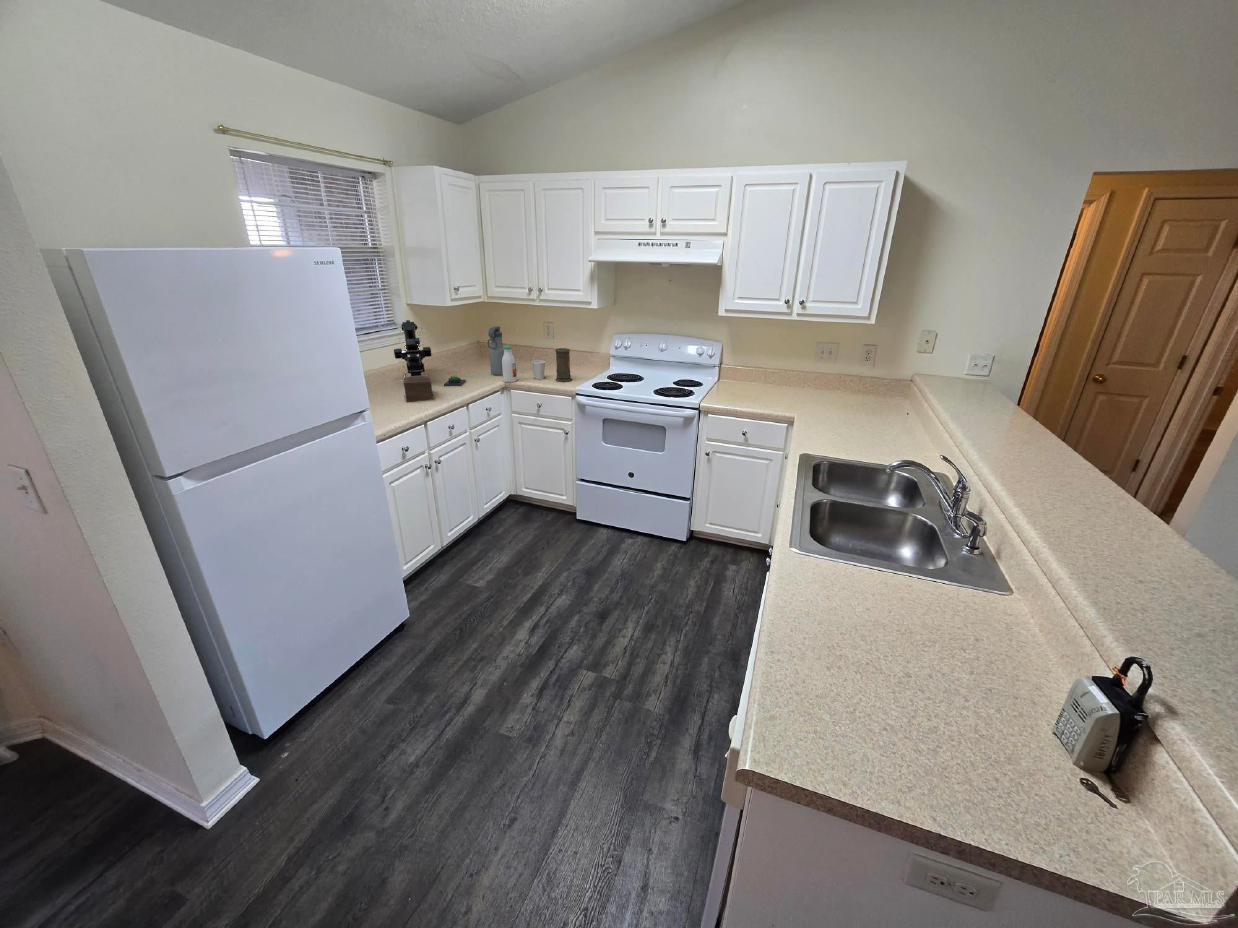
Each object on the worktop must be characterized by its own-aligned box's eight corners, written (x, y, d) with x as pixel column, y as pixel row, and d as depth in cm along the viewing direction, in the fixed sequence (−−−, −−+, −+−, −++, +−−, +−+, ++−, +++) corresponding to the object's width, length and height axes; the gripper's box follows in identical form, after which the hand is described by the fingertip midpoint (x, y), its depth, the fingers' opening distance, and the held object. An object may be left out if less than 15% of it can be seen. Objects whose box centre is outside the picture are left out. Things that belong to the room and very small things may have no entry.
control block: (449, 381, 295) (449, 376, 293) (465, 381, 295) (464, 376, 294) (444, 386, 284) (443, 380, 283) (460, 386, 285) (459, 381, 283)
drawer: (407, 389, 274) (404, 375, 271) (429, 387, 278) (427, 373, 275) (407, 397, 260) (405, 382, 257) (431, 395, 264) (429, 380, 261)
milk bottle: (509, 383, 291) (506, 348, 284) (500, 381, 296) (497, 346, 288) (519, 380, 297) (517, 346, 289) (510, 378, 301) (508, 344, 294)
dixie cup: (549, 378, 304) (548, 361, 300) (538, 380, 298) (537, 363, 294) (539, 375, 309) (539, 359, 305) (529, 378, 303) (528, 361, 299)
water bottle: (501, 376, 307) (497, 328, 296) (487, 374, 310) (483, 327, 299) (510, 372, 316) (507, 326, 305) (497, 371, 319) (493, 325, 308)
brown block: (406, 395, 266) (403, 377, 263) (431, 393, 271) (429, 375, 267) (406, 402, 255) (403, 383, 251) (433, 399, 259) (430, 381, 255)
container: (559, 382, 293) (558, 351, 286) (553, 379, 300) (552, 348, 293) (573, 381, 297) (572, 350, 290) (568, 377, 304) (566, 347, 297)
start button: (452, 378, 290) (451, 375, 290) (458, 378, 290) (458, 375, 290) (450, 380, 287) (450, 377, 286) (456, 380, 287) (456, 377, 286)
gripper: (390, 333, 269) (394, 358, 264) (428, 331, 276) (432, 356, 270) (393, 346, 279) (396, 370, 274) (429, 344, 285) (433, 367, 280)
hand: (414, 365), depth 274 cm, fingers open, 5 cm apart
